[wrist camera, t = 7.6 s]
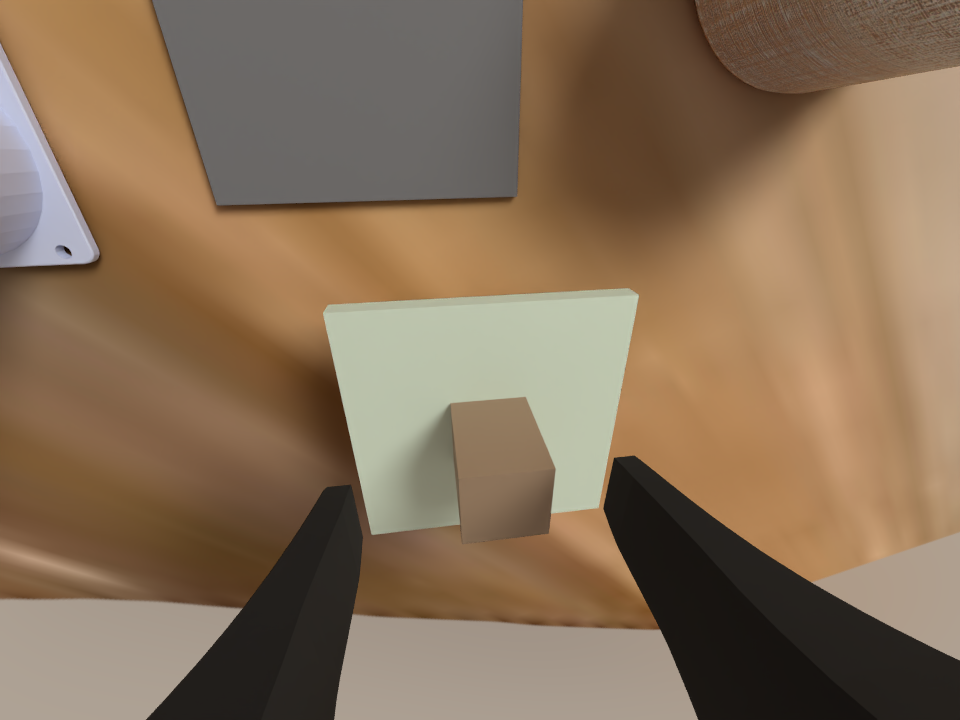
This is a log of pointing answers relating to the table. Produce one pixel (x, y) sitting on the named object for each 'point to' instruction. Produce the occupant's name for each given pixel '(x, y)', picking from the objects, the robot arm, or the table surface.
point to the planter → (830, 40)
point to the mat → (350, 97)
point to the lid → (481, 406)
